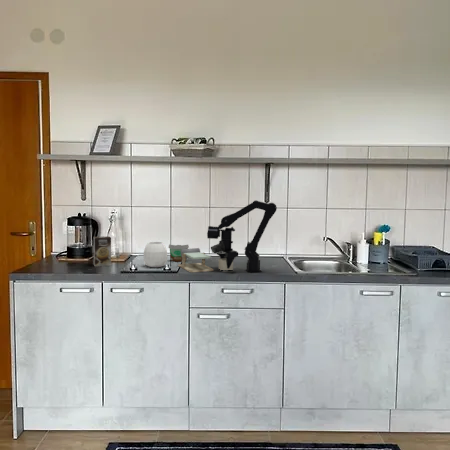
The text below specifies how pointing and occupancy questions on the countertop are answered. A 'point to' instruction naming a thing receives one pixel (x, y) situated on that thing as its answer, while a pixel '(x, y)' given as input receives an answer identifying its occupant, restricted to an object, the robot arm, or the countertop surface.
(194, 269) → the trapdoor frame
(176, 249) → the food container
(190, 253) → the trapdoor
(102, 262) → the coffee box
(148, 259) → the white round vase
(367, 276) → the countertop surface
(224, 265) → the beige cube
